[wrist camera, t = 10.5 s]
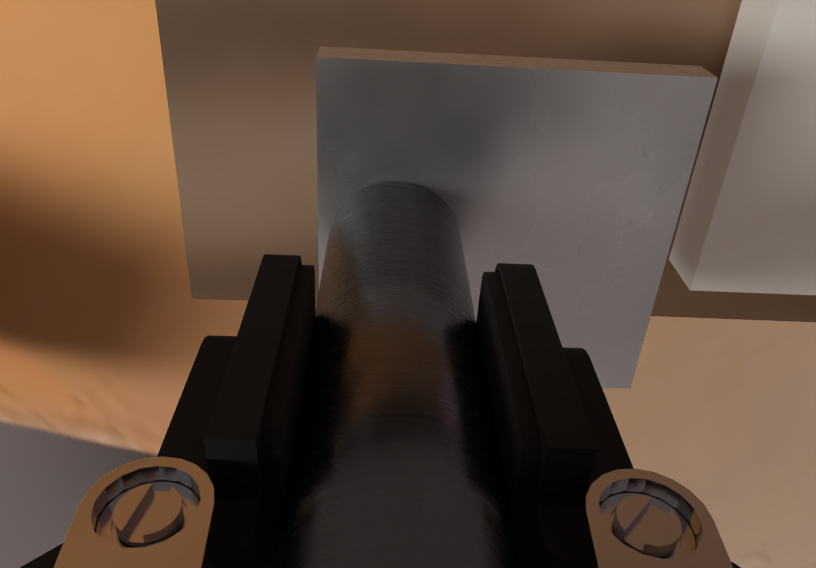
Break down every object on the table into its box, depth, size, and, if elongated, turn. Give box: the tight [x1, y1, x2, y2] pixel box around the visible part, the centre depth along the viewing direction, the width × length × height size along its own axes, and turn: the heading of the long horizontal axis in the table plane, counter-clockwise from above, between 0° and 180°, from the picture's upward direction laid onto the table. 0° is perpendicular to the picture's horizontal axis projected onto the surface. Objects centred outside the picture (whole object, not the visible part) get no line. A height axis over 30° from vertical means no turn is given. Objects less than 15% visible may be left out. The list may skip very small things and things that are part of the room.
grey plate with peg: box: [272, 46, 718, 568], centre depth 10 cm, size 7×7×11 cm
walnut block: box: [155, 0, 816, 322], centre depth 27 cm, size 14×28×12 cm, turn 87°
